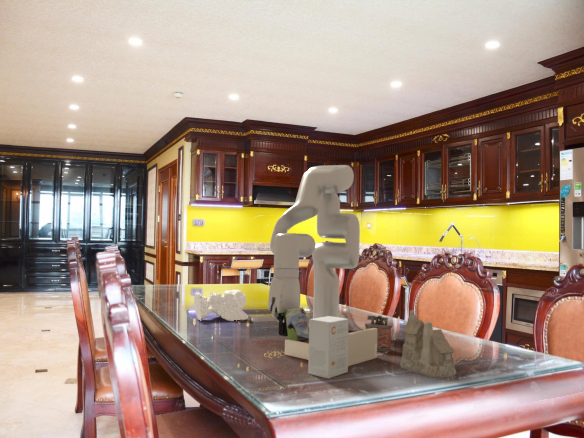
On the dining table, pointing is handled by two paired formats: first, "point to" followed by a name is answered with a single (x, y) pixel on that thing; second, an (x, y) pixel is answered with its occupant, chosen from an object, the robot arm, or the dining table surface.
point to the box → (359, 347)
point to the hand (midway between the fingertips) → (284, 335)
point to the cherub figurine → (221, 305)
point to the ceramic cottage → (426, 349)
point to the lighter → (381, 331)
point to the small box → (328, 346)
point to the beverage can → (297, 325)
